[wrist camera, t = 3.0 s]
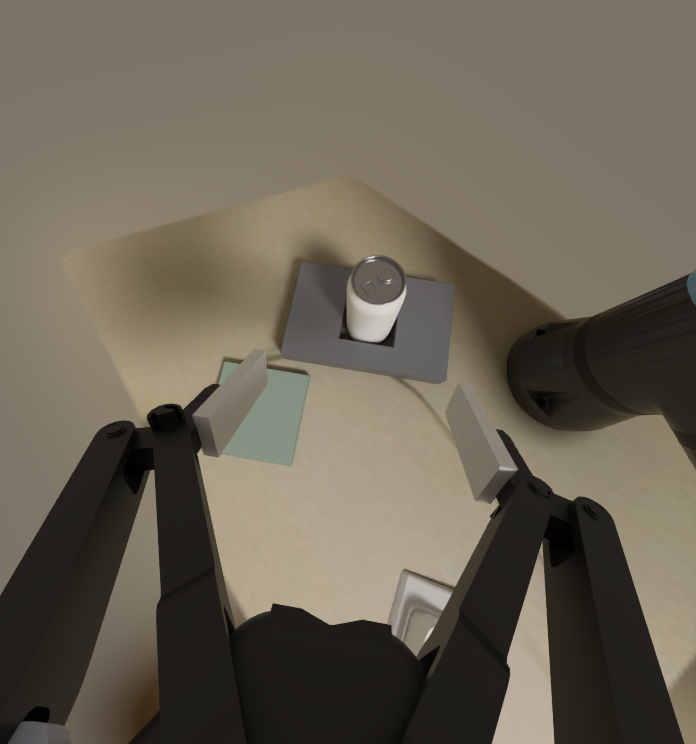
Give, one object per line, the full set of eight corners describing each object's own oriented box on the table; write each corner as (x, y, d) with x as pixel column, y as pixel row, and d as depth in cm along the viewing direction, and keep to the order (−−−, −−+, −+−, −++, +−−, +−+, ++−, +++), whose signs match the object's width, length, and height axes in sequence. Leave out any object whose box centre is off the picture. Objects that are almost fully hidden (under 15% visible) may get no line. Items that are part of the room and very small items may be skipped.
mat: (310, 376, 35) (309, 375, 34) (292, 465, 32) (290, 466, 31) (227, 363, 35) (224, 361, 34) (203, 449, 33) (199, 450, 32)
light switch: (405, 582, 27) (525, 635, 26) (400, 563, 31) (502, 607, 30) (374, 699, 25) (503, 764, 23) (372, 662, 29) (482, 715, 27)
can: (398, 330, 36) (423, 285, 25) (364, 355, 36) (372, 320, 24) (372, 298, 38) (383, 240, 26) (338, 321, 37) (333, 273, 25)
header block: (446, 295, 38) (454, 284, 35) (438, 384, 35) (446, 380, 32) (305, 273, 38) (301, 260, 35) (285, 358, 35) (280, 352, 32)
